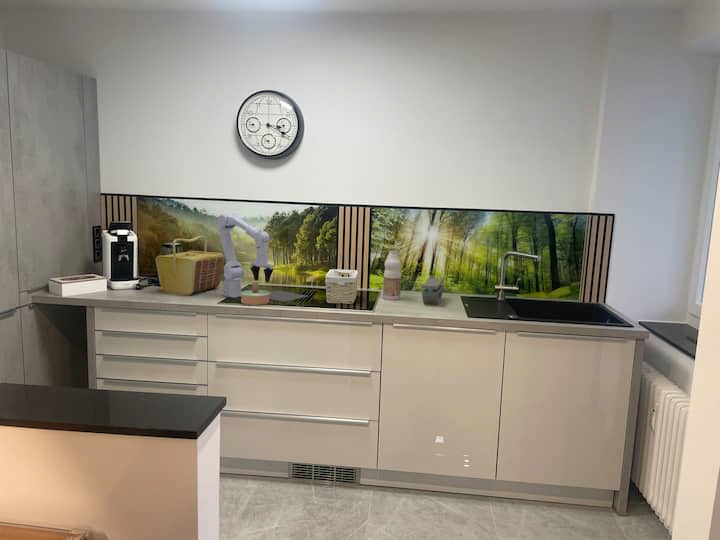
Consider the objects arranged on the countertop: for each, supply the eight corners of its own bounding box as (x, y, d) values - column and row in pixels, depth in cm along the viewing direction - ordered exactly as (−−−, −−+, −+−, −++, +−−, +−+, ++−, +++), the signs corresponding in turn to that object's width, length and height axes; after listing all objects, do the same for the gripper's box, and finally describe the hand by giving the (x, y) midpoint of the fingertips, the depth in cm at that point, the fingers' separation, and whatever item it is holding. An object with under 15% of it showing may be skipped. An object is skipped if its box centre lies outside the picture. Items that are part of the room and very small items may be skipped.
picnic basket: (194, 297, 304) (193, 240, 300) (154, 292, 313) (153, 237, 309) (225, 288, 331) (225, 236, 327) (188, 284, 340) (187, 233, 336)
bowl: (235, 302, 294) (235, 293, 294) (255, 298, 306) (255, 290, 305) (255, 306, 286) (255, 297, 286) (274, 302, 298) (274, 293, 297)
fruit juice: (383, 300, 311) (385, 248, 307) (382, 296, 320) (384, 246, 316) (400, 300, 311) (403, 249, 307) (399, 297, 321) (401, 247, 316)
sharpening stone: (436, 307, 298) (437, 286, 296) (421, 305, 300) (422, 285, 298) (442, 298, 321) (443, 279, 320) (428, 297, 324) (429, 278, 322)
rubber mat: (252, 296, 310) (252, 295, 310) (278, 291, 326) (278, 290, 326) (283, 302, 297) (283, 301, 297) (308, 297, 313) (308, 295, 313)
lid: (234, 293, 294) (234, 283, 293) (255, 289, 306) (255, 279, 305) (255, 297, 285) (255, 286, 284) (276, 293, 297) (276, 282, 296)
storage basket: (354, 305, 297) (355, 276, 295) (323, 303, 298) (324, 275, 296) (358, 296, 321) (358, 269, 319) (329, 294, 322) (329, 268, 320)
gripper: (246, 254, 297) (246, 280, 299) (266, 257, 289) (266, 284, 291) (255, 253, 303) (255, 278, 305) (276, 256, 295) (276, 282, 297)
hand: (261, 281), depth 298 cm, fingers open, 7 cm apart
